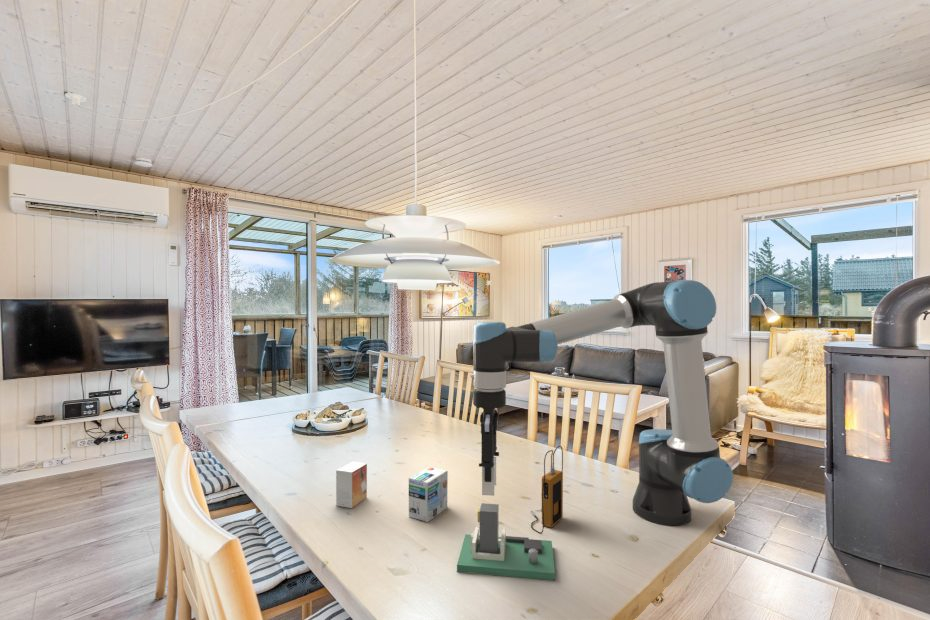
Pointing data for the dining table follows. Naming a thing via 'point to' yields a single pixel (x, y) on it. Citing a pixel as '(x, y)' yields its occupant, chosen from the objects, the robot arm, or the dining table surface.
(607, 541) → the dining table surface
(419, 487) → the light bulb box
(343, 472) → the small box
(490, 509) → the plug
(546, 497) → the multimeter
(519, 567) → the board
